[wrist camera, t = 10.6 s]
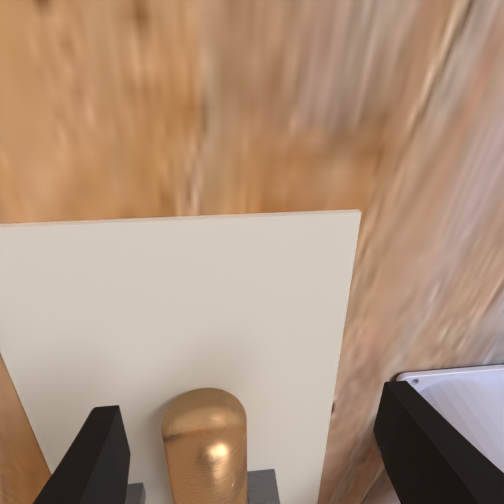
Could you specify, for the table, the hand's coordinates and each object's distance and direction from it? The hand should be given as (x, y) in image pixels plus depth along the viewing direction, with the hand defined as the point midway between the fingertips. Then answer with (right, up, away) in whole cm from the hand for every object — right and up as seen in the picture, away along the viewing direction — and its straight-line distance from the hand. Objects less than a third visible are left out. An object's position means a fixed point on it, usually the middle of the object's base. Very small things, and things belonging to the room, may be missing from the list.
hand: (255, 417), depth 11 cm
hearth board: (-4, -6, +14) cm, 16 cm away
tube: (-4, -11, +16) cm, 20 cm away
